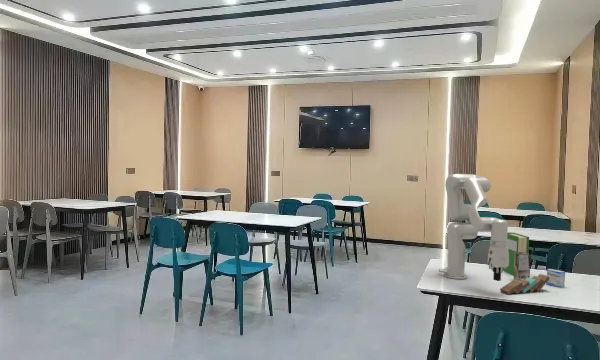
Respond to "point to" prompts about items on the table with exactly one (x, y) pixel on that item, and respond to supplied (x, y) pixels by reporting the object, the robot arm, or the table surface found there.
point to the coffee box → (521, 265)
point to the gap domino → (532, 283)
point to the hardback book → (515, 248)
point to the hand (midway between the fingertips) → (497, 280)
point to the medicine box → (556, 278)
